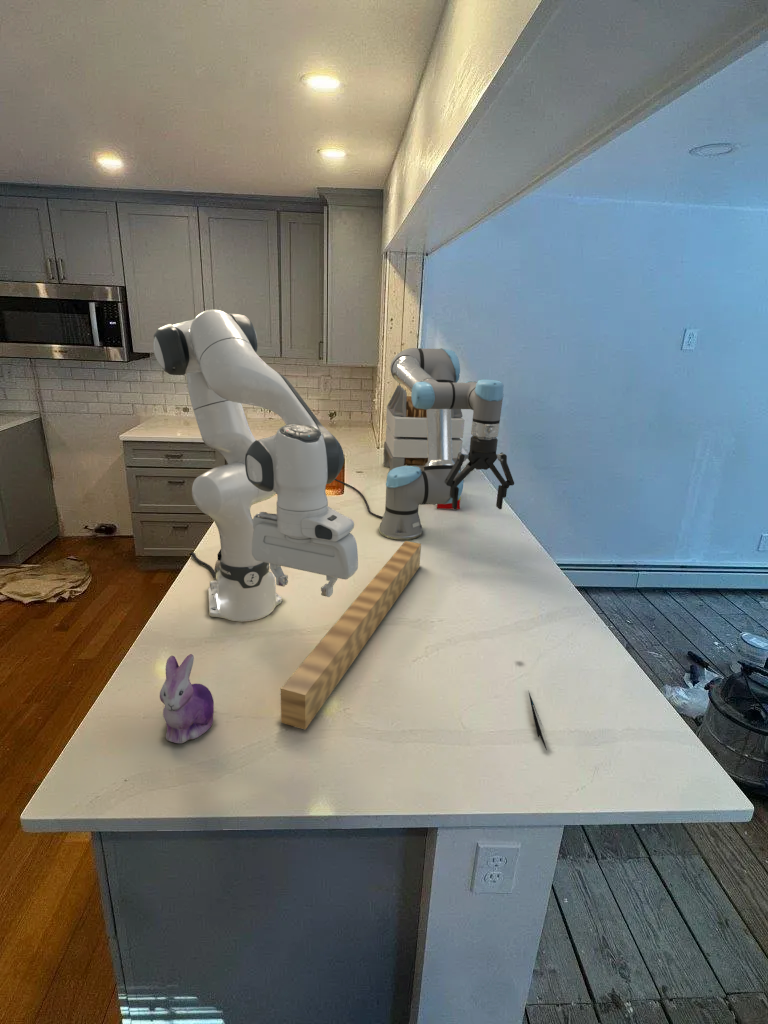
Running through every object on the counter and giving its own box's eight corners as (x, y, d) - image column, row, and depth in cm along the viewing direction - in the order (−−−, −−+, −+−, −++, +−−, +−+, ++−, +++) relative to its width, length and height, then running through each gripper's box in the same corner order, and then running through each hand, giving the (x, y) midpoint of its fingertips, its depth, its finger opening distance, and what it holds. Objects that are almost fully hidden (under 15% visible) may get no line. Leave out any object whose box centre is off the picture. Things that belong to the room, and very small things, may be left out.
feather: (520, 667, 129) (525, 661, 129) (546, 754, 103) (553, 747, 102) (514, 663, 129) (519, 657, 129) (538, 750, 103) (545, 742, 102)
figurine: (167, 753, 99) (159, 681, 94) (159, 717, 107) (151, 649, 102) (222, 737, 103) (217, 667, 98) (210, 703, 111) (205, 637, 106)
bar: (403, 563, 177) (405, 540, 174) (419, 566, 175) (421, 543, 172) (281, 722, 107) (280, 688, 105) (305, 729, 106) (305, 695, 103)
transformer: (382, 463, 289) (386, 382, 275) (445, 464, 293) (451, 384, 279) (390, 482, 257) (394, 392, 243) (460, 483, 261) (468, 394, 247)
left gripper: (242, 515, 100) (246, 585, 105) (346, 534, 93) (345, 609, 97) (262, 505, 106) (266, 572, 110) (362, 522, 98) (361, 593, 103)
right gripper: (444, 439, 153) (438, 513, 160) (531, 440, 157) (521, 511, 164) (437, 433, 160) (432, 504, 167) (521, 434, 164) (512, 503, 171)
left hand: (304, 590), depth 104 cm, fingers open, 8 cm apart
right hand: (476, 508), depth 166 cm, fingers open, 13 cm apart
